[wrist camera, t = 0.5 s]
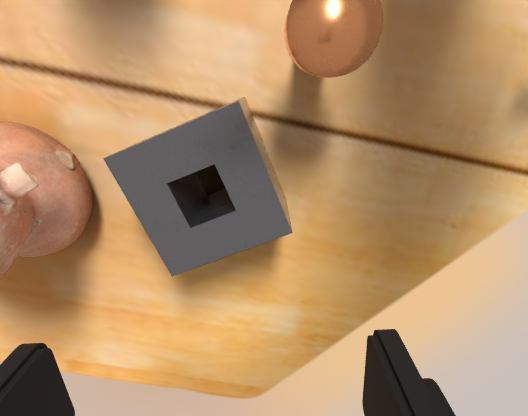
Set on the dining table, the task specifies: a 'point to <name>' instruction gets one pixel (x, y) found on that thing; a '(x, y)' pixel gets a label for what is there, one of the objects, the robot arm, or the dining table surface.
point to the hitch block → (193, 194)
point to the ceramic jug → (39, 194)
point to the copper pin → (332, 34)
